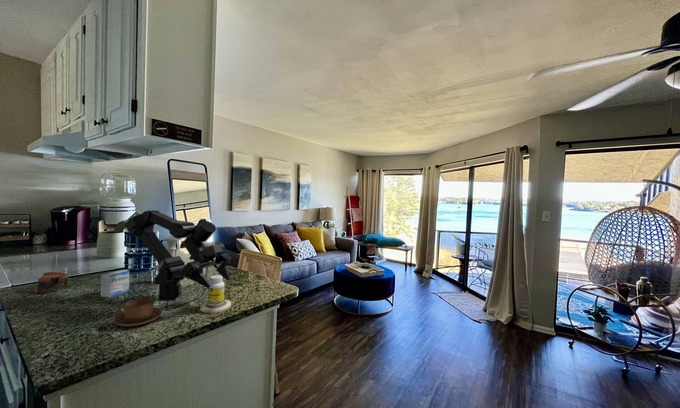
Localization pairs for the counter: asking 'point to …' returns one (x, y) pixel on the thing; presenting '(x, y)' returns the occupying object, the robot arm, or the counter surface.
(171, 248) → the candle holder
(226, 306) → the round plate
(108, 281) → the medicine box
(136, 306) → the cup and saucer
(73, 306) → the counter surface
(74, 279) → the counter surface
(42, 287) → the reddish brown angular block
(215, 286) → the supplement bottle
